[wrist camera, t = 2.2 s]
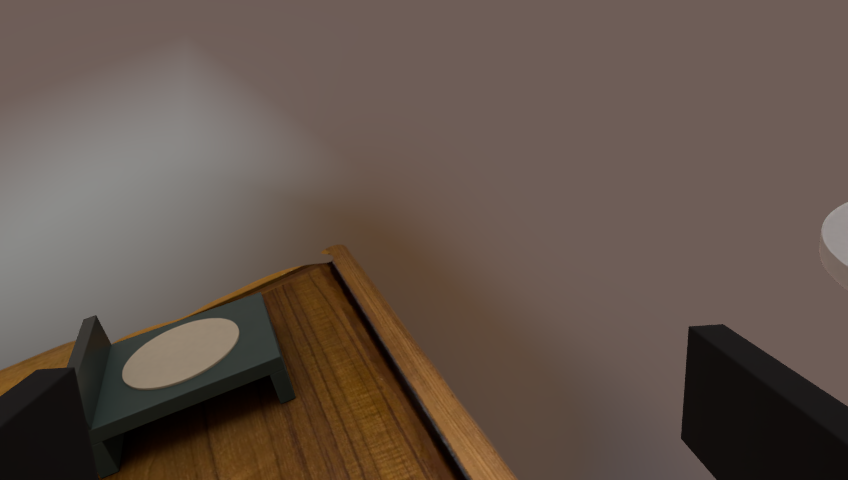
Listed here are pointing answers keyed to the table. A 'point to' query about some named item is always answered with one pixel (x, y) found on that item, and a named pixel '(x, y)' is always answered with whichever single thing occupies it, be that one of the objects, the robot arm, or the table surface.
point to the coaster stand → (171, 370)
